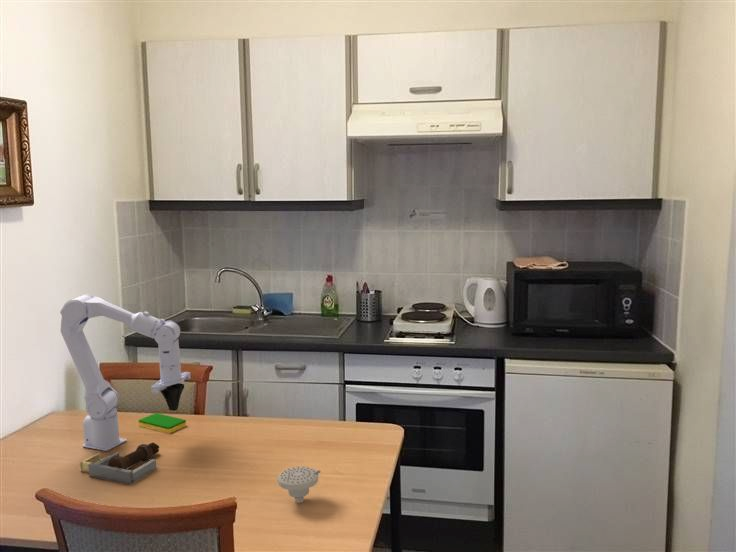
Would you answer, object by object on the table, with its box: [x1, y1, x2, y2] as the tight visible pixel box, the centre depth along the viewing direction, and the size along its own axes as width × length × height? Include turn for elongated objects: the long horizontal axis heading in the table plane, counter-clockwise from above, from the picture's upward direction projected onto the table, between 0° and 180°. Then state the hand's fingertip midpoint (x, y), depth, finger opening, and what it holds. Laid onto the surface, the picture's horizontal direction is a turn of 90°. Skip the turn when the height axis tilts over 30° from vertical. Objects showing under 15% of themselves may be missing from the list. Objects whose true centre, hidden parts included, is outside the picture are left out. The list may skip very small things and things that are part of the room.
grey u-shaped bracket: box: [88, 452, 157, 486], centre depth 171 cm, size 14×10×3 cm
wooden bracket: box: [79, 452, 111, 473], centre depth 175 cm, size 5×6×2 cm
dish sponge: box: [138, 412, 187, 434], centre depth 204 cm, size 7×14×2 cm, turn 59°
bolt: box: [108, 442, 160, 470], centre depth 176 cm, size 6×5×15 cm
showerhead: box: [277, 466, 322, 504], centre depth 153 cm, size 9×7×10 cm
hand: (173, 409), depth 189 cm, fingers closed
